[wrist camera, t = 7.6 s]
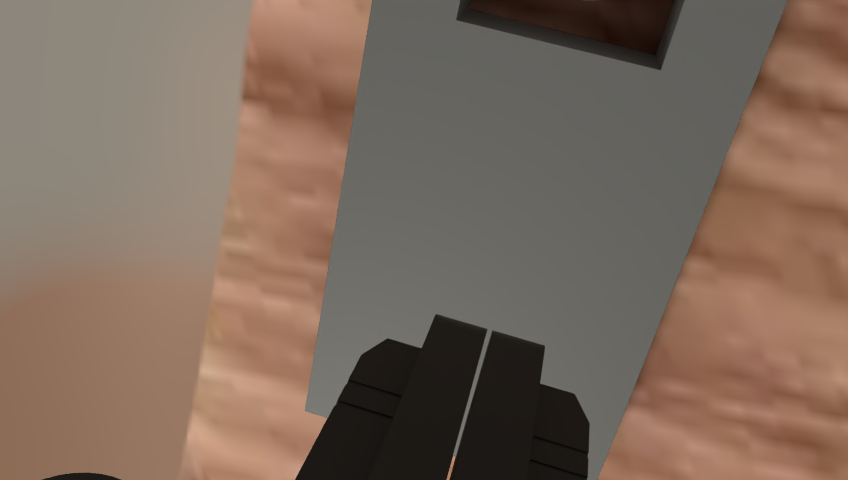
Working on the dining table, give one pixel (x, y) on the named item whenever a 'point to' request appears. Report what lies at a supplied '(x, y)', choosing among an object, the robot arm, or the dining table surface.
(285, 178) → the dining table surface
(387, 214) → the hole board
